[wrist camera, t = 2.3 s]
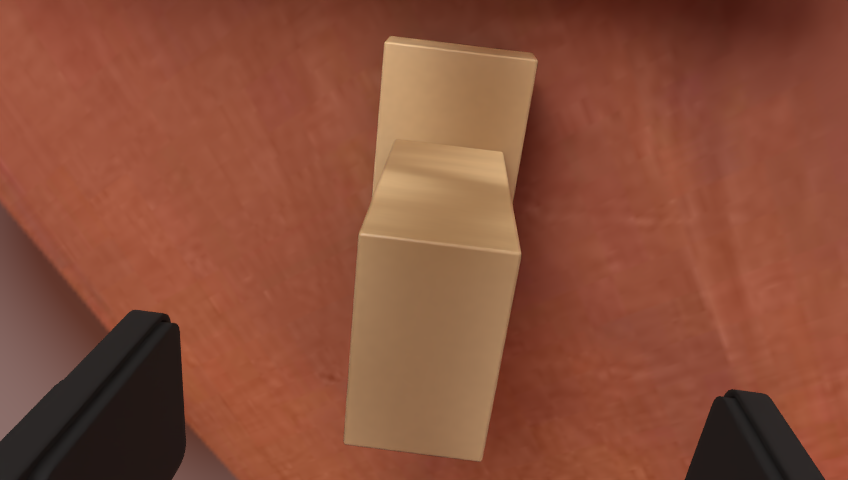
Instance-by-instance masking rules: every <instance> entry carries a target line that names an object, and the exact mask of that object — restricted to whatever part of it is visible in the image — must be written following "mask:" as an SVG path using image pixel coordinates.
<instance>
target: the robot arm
mask: <svg viewBox="0 0 848 480" xmlns="http://www.w3.org/2000/svg"><path fill="white" fill-rule="evenodd" d="M185 447H186V436H185V417H184V399H183V382H182V364H181V346H180V330H179V326H178V325H177V324H175V323H171V321H170V318H169V316H168V315H167V314H163V313H156V312H148V311H141V310H132V311H131V312H129V313H128V314H127V315H126V316H125V317H124V318H123V319H122V320H121V321H120V322H119V323H118V324H117V325H116V326H115V327H114V328H113V329H112V331H111V332H110V333H109V334H108V335H107V336H106V337H105V338H104V339H103V340H102V341H101V342H100V343H99V344H98V345H97V346H96V347H95V348H94V349H93V350H92V351H91V352H90V353H89V354H88V355H87V356H86V357H85V358H84V359H83V360H82V361H81V362H80V364H78V366H77V367H76V368H75V369H74V370H73V371H72V372H71V373H70V374H69V375H68V376H67V377H66V378H65V379H64V380H62V381H60V382H59V383H58V384H57V385H55V386H54V387H53V388H52V389H51V390H50V391H49V392H48V393H47V394H46V395H45V396H44V397H43V399H41V400H40V402H39V403H38V404H37V405H36V406H35V407H34V408H33V409H32V410H31V411H30V412H29V413H28V414H27V415H26V416H25V417H24V418H23V419H22V420H21V421H20V422H19V423H18V424H17V425H16V426H15V427H14V428H13V429H12V430H11V431H10V432H9V433H8V434H7V435H6V436H5V437H4V438H3V439H2V441H0V480H172V478H173V477H174V475H175V473H176V471H177V470H178V468H179V466H180V464H181V462H182V459H183V457H184V453H185ZM685 480H825V479H824V477H823V476H822V474H821V473H820V471H819V470H818V468H817V467H816V465H815V464H814V462H813V461H812V459H811V458H810V456H809V455H808V453H807V452H806V450H805V449H804V447H803V446H802V444H801V443H800V441H799V440H798V438H797V437H796V435H795V434H794V432H793V431H792V429H791V428H790V426H789V425H788V423H787V422H786V421H785V419H784V418H783V416H782V415H781V413H780V412H779V410H778V409H777V407H776V406H775V404H774V403H773V401H772V400H771V398H770V397H769V396H768V395H766V394H763V393H756V392H748V391H741V390H733V389H732V390H728V392H727V393H726V394H725V395H724V397H721V396H719V397H717V398H716V399H715V400H714V402H713V404H712V407H711V409H710V412H709V415H708V418H707V420H706V423H705V426H704V428H703V431H702V434H701V437H700V439H699V442H698V445H697V448H696V450H695V453H694V456H693V459H692V461H691V464H690V467H689V470H688V472H687V475H686V478H685Z"/></svg>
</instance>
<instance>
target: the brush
mask: <svg viewBox="0 0 848 480" xmlns="http://www.w3.org/2000/svg"><path fill="white" fill-rule="evenodd" d="M537 64H538V60H537V59H536V57H535V56H534V54H533V53H528V52H520V51H512V50H503V49H495V48H487V47H479V46H470V45H462V44H454V43H446V42H437V41H429V40H421V39H413V38H404V37H396V36H390V37H389V38H388V39H387V40H386V41H385V43H384V53H383V65H382V78H381V90H380V103H379V115H378V128H377V140H376V153H375V165H374V178H373V190H372V200H371V203H370V206H369V208H368V211H367V214H366V216H365V219H364V221H363V224H362V227H361V229H360V232H359V234H358V247H357V261H356V275H355V289H354V302H353V316H352V330H351V344H350V358H349V371H348V385H347V399H346V413H345V427H344V440H343V441H344V444H346V445H353V446H361V447H369V448H376V449H384V450H392V451H400V452H408V453H415V454H423V455H431V456H439V457H447V458H454V459H462V460H470V461H478V462H480V461H482V459H483V455H484V449H485V444H486V439H487V434H488V428H489V423H490V418H491V413H492V408H493V402H494V397H495V392H496V387H497V381H498V376H499V371H500V366H501V360H502V355H503V350H504V345H505V340H506V334H507V329H508V324H509V319H510V313H511V308H512V303H513V298H514V292H515V287H516V282H517V277H518V272H519V266H520V261H521V256H522V254H521V249H520V243H519V238H518V232H517V226H516V221H515V215H514V210H513V199H514V194H515V188H516V182H517V177H518V171H519V166H520V160H521V154H522V149H523V143H524V137H525V132H526V126H527V121H528V115H529V109H530V104H531V98H532V93H533V87H534V81H535V76H536V70H537Z"/></svg>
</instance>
